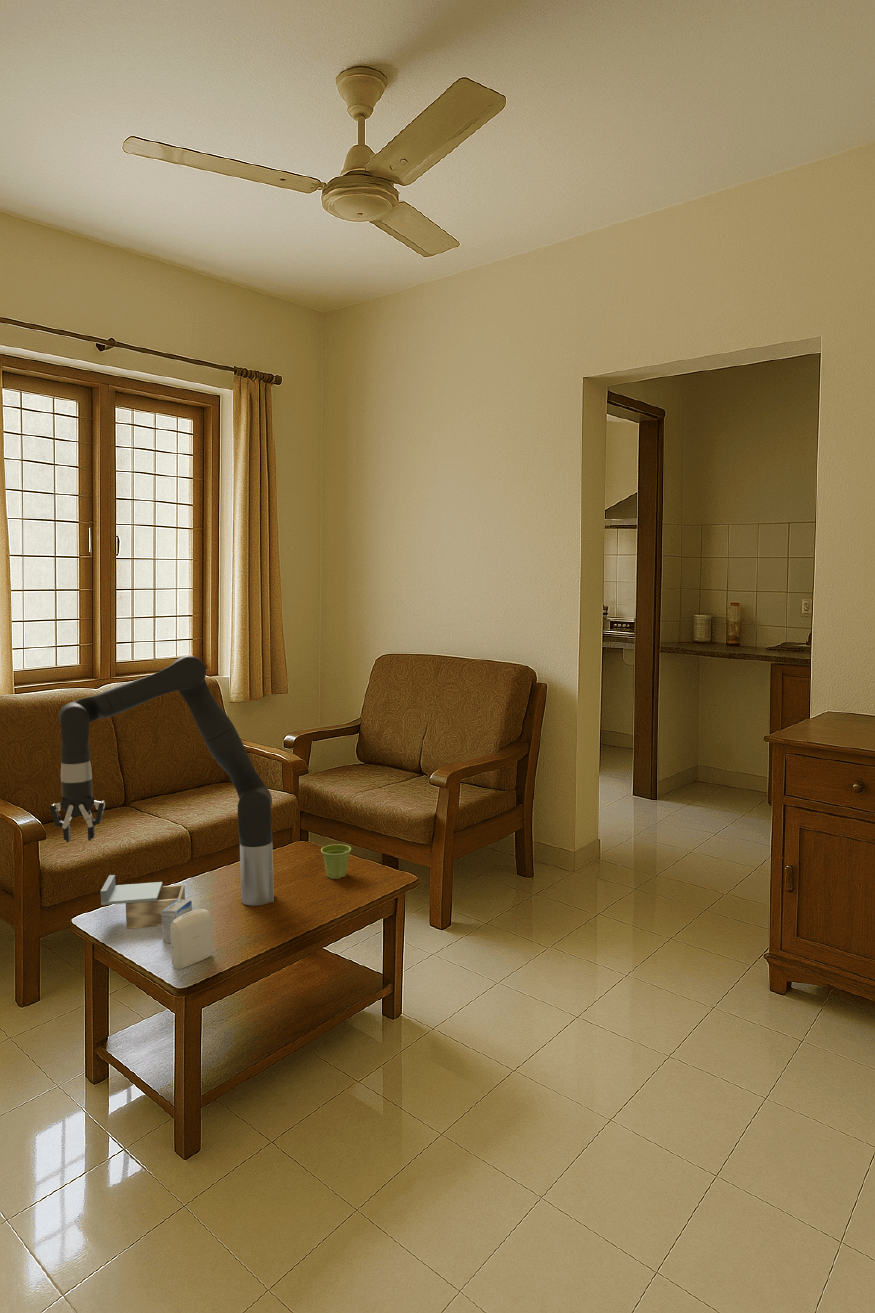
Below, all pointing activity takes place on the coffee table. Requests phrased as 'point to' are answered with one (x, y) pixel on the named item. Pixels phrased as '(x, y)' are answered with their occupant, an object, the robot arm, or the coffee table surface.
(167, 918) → the medicine box
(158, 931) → the coffee table surface
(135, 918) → the wooden box
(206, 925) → the photo printer
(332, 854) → the plant pot
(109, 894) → the lid
